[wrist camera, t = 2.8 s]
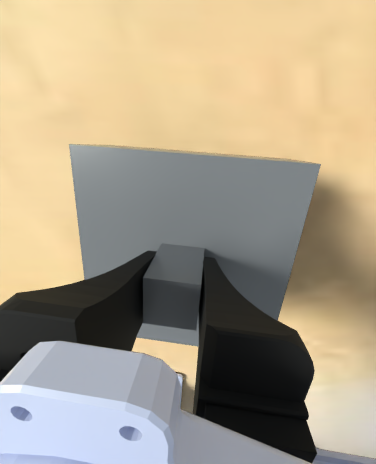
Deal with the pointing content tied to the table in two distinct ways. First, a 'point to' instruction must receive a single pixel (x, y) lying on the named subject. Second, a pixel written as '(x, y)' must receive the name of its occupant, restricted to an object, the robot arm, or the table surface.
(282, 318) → the table surface
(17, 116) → the table surface
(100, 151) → the gray square knob slab
